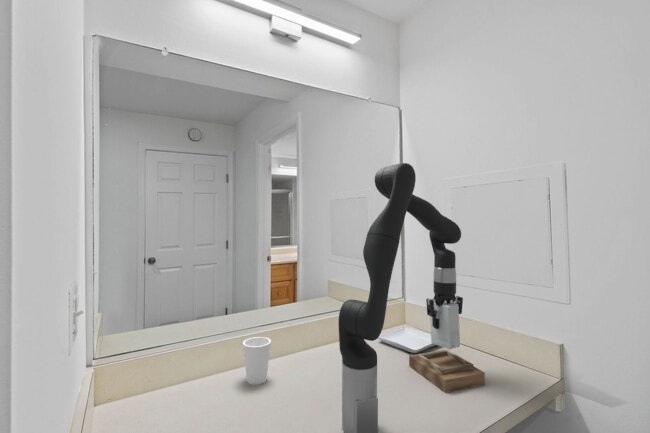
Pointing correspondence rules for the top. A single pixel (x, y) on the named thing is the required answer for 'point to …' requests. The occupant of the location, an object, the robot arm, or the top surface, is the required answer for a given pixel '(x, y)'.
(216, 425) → the top surface
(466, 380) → the block
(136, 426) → the top surface
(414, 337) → the salad plate
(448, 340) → the skincare box
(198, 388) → the top surface
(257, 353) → the foam cup
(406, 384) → the top surface
